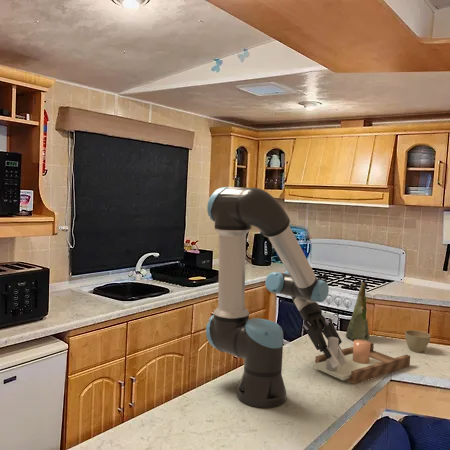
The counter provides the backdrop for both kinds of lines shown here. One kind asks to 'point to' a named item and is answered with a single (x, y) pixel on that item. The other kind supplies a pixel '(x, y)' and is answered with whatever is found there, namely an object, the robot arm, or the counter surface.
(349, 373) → the cream flat panel
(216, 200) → the robot arm
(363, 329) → the olive tapered piece
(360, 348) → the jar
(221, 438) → the counter surface
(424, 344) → the flower pot
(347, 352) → the tray
